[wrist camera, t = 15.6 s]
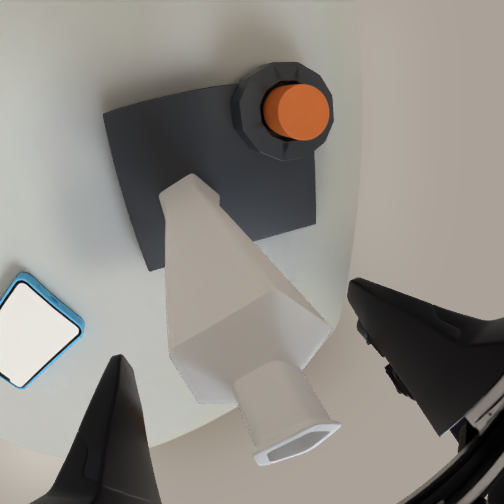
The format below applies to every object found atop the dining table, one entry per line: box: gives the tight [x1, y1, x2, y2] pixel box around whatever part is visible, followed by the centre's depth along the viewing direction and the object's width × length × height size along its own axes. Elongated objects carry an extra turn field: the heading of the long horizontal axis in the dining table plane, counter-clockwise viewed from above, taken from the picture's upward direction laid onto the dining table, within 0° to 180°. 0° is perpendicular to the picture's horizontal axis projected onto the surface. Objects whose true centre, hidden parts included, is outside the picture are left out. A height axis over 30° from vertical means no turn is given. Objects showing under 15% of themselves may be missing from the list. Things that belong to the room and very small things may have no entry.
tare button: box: [263, 84, 329, 141], centre depth 14 cm, size 3×3×2 cm
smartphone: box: [0, 273, 84, 389], centre depth 17 cm, size 8×1×15 cm
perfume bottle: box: [159, 174, 341, 466], centre depth 11 cm, size 5×4×15 cm
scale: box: [103, 62, 334, 271], centre depth 16 cm, size 14×12×3 cm
